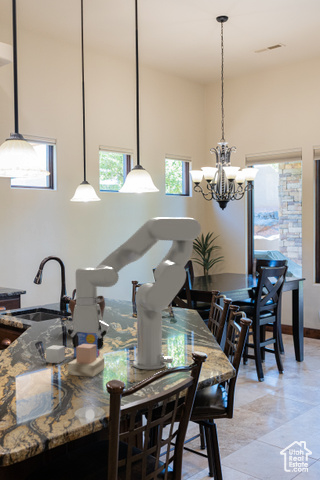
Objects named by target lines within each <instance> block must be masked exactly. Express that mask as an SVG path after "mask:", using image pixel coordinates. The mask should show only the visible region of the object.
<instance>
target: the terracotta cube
mask: <svg viewBox="0 0 320 480" xmlns="http://www.w3.org/2000/svg"><path fill="white" fill-rule="evenodd" d="M75 359H76V362H80V363H92V362H93V361H95V360H96V345H94V344H81V345H80V346H78V347H76V357H75Z"/></svg>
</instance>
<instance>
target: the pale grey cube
mask: <svg viewBox="0 0 320 480" xmlns="http://www.w3.org/2000/svg"><path fill="white" fill-rule="evenodd" d="M65 359H66V346H65V345H54V344H52V345H51V346H49V347H48V346H47V347H46V348H45V362H46V363H53V364H60V363H61V362H63V361H65Z"/></svg>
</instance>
